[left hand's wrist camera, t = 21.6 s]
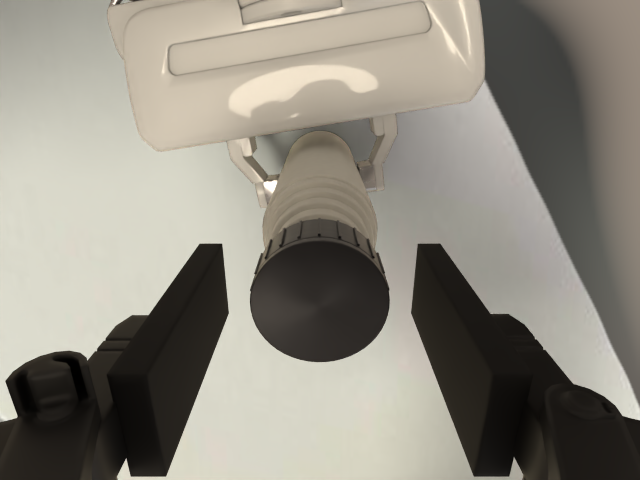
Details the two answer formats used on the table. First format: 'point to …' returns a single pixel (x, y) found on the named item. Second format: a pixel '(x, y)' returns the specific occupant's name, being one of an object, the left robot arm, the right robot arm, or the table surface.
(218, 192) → the table surface
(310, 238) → the cap
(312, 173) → the bottle
